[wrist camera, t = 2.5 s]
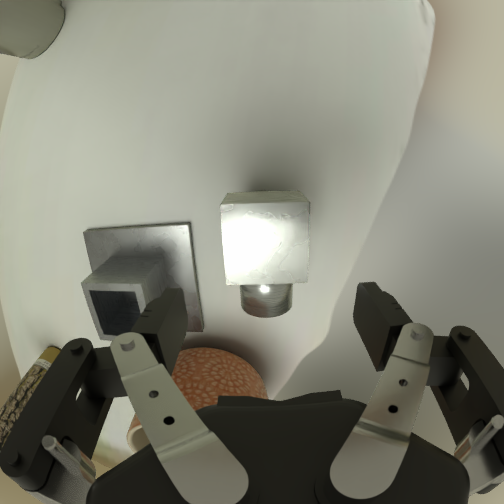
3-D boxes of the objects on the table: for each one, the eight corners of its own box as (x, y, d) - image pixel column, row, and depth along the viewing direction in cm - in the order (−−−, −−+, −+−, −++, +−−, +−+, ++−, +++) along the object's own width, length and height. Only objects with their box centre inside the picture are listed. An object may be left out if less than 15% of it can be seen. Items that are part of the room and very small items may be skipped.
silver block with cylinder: (233, 183, 29) (220, 204, 18) (290, 182, 28) (309, 202, 18) (237, 264, 32) (229, 320, 22) (290, 263, 32) (305, 318, 22)
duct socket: (87, 229, 31) (50, 252, 23) (190, 222, 30) (169, 247, 23) (111, 322, 36) (87, 357, 28) (203, 327, 35) (192, 369, 28)
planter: (243, 416, 43) (239, 490, 28) (149, 385, 40) (122, 458, 26) (290, 354, 37) (302, 446, 23) (172, 311, 35) (133, 400, 20)
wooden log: (42, 341, 38) (-26, 432, 15) (67, 349, 38) (-1, 453, 15) (54, 367, 41) (-3, 456, 18) (79, 375, 41) (24, 475, 18)
